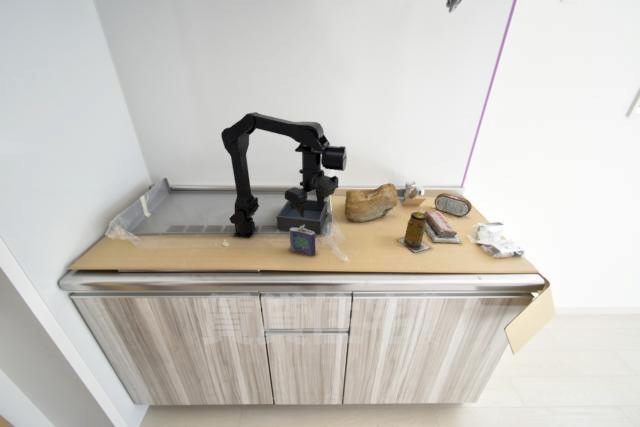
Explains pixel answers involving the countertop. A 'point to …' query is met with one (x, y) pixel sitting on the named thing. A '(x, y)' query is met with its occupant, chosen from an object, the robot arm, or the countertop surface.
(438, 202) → the tin
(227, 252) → the countertop surface
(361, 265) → the countertop surface
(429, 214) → the packaged product
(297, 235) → the flask
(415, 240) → the condiment
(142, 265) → the countertop surface
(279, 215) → the bin
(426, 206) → the countertop surface
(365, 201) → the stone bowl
